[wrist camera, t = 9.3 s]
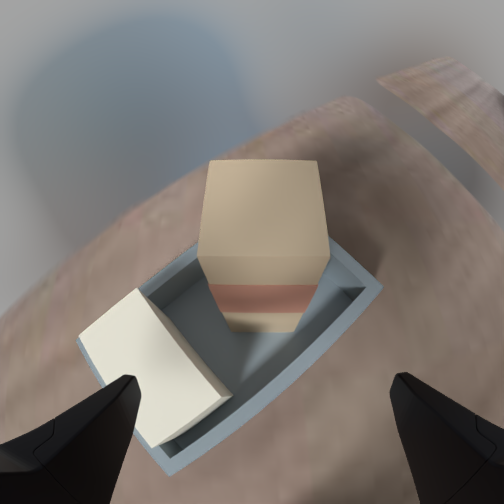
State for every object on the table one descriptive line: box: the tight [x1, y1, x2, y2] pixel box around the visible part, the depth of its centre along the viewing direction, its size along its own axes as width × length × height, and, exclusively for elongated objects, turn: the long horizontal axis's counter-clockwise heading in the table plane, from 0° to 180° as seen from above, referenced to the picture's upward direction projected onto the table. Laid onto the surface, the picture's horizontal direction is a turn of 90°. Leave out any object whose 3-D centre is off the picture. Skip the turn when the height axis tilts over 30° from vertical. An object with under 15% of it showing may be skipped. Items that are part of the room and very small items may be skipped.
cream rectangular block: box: [79, 288, 234, 448], centre depth 17 cm, size 5×8×7 cm, turn 42°
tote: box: [76, 236, 384, 477], centre depth 21 cm, size 20×12×4 cm, turn 132°
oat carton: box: [197, 160, 330, 332], centre depth 17 cm, size 5×5×13 cm
